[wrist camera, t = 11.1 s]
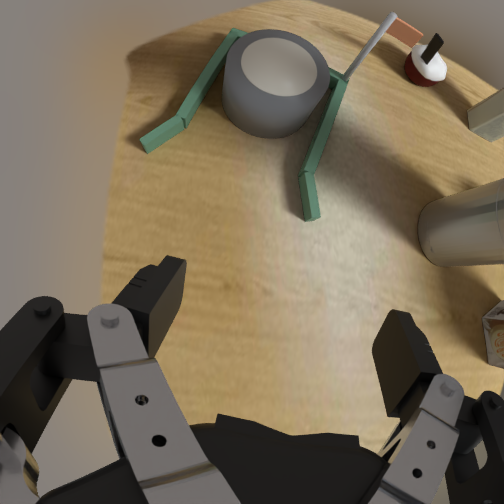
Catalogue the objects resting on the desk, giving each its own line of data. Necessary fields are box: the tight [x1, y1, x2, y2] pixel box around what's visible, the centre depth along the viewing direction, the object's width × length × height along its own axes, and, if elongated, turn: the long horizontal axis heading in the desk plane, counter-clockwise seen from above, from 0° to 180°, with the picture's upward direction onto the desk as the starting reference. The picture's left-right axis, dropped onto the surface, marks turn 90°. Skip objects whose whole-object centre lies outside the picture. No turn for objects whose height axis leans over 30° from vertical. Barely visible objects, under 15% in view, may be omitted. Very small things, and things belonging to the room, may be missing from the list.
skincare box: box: [467, 88, 504, 142], centre depth 36 cm, size 6×4×12 cm
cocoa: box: [405, 33, 447, 87], centre depth 35 cm, size 10×6×12 cm, turn 95°
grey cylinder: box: [222, 29, 330, 139], centre depth 33 cm, size 11×11×8 cm
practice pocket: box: [139, 12, 423, 222], centre depth 28 cm, size 20×22×16 cm
